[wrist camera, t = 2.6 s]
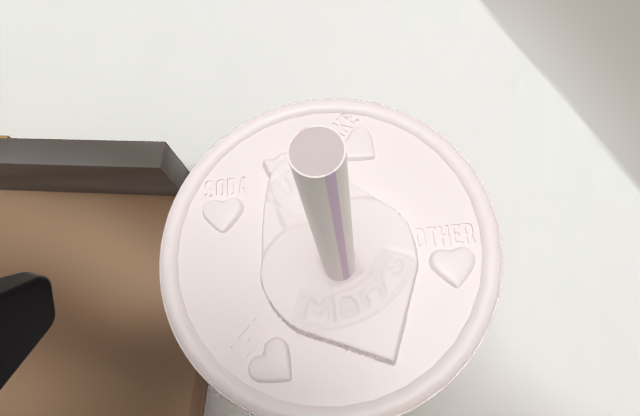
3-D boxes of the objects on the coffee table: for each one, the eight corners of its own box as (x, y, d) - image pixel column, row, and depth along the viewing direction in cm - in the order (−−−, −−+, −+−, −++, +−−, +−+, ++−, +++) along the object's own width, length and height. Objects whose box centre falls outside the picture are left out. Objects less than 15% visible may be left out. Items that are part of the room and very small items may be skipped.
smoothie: (307, 448, 16) (66, 676, 3) (234, 284, 18) (-78, 22, 5) (468, 357, 17) (829, 228, 4) (378, 209, 19) (405, -187, 6)
